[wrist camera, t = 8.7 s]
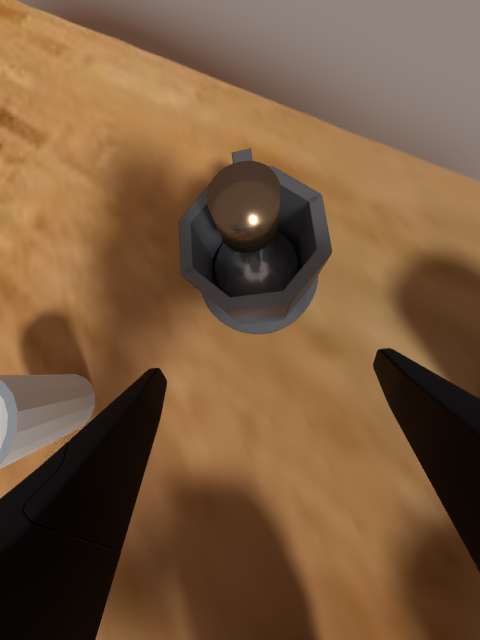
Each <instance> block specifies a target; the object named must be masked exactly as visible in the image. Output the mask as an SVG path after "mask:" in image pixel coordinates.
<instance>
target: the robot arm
mask: <svg viewBox="0 0 480 640" xmlns="http://www.w3.org/2000/svg"><path fill="white" fill-rule="evenodd" d="M373 367H374V370H375V373H376V375H377V378H378V380H379V383H380V385H381V388H382V390H383V392H384V395H385V397H386V400H387V402H388V404H389V406H390V408H391V410H392V412H393V414H394V416H395V418H396V420H397V422H398V423H399V425H400V427H401V429H402V431H403V433H404V434H405V436H406V438H407V440H408V442H409V444H410V445H411V447H412V449H413V451H414V453H415V455H416V456H417V458H418V460H419V462H420V464H421V466H422V467H423V469H424V471H425V473H426V475H427V477H428V478H429V480H430V482H431V484H432V486H433V488H434V489H435V491H436V493H437V495H438V497H439V499H440V500H441V502H442V504H443V506H444V508H445V510H446V512H447V513H448V515H449V517H450V519H451V521H452V523H453V524H454V526H455V528H456V530H457V532H458V534H459V535H460V537H461V539H462V541H463V543H464V545H465V546H466V548H467V550H468V552H469V554H470V556H471V557H472V559H473V561H474V563H475V564H476V567H477V569H478V571H479V573H480V399H479V398H477V397H475V396H474V395H472V394H470V393H468V392H467V391H465V390H463V389H461V388H460V387H458V386H456V385H454V384H453V383H451V382H449V381H447V380H446V379H444V378H442V377H440V376H439V375H437V374H435V373H433V372H432V371H430V370H428V369H426V368H425V367H423V366H421V365H419V364H418V363H416V362H414V361H412V360H411V359H409V358H407V357H405V356H404V355H402V354H400V353H398V352H397V351H395V350H393V349H391V348H386V349H379V350H378V351H377V353H376V357H375V360H374V363H373ZM166 386H167V380H166V378H165V376H164V375H163V373H162V371H161V370H160V369H159V368H151V369H149V370H148V371H146V372H145V373H144V374H143V375H142V376H141V377H140V378H139V379H137V380H136V381H135V382H134V383H133V384H132V385H131V386H130V387H129V388H127V389H126V390H125V391H124V392H123V393H122V394H121V395H120V396H118V397H117V398H116V399H115V400H114V401H113V402H112V403H111V404H110V405H108V406H107V407H106V408H105V409H104V410H103V411H102V412H101V413H99V414H98V415H97V416H96V417H95V418H94V419H93V420H92V421H91V422H89V423H88V424H87V425H86V426H85V427H84V428H83V429H82V430H80V431H79V432H78V433H77V434H76V435H75V436H74V437H73V438H72V439H70V441H69V442H67V443H66V444H65V445H64V446H63V447H61V448H60V449H59V450H58V451H57V452H56V453H55V454H53V455H52V456H51V457H50V458H49V459H48V460H47V461H45V462H44V463H43V464H42V465H41V466H40V467H38V468H37V469H36V470H35V471H34V472H32V473H31V474H30V475H29V476H28V477H26V478H25V479H24V480H23V481H22V482H20V483H19V484H18V485H17V486H15V487H14V488H13V489H12V490H11V491H9V492H8V493H7V494H6V495H4V496H3V497H2V498H1V499H0V640H95V639H96V635H97V632H98V628H99V625H100V622H101V618H102V615H103V612H104V608H105V605H106V601H107V598H108V595H109V591H110V588H111V585H112V581H113V578H114V574H115V571H116V568H117V564H118V561H119V557H120V554H121V550H122V547H123V543H124V540H125V537H126V533H127V530H128V526H129V523H130V520H131V516H132V513H133V510H134V506H135V503H136V499H137V496H138V493H139V489H140V486H141V482H142V479H143V476H144V472H145V469H146V466H147V462H148V459H149V455H150V452H151V449H152V445H153V442H154V438H155V435H156V432H157V428H158V425H159V421H160V417H161V413H162V408H163V402H164V397H165V392H166Z"/></svg>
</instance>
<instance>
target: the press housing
mask: <svg viewBox="0 0 480 640" xmlns="http://www.w3.org/2000/svg"><path fill="white" fill-rule="evenodd" d="M232 159H233V163H237V162H241V161H252V153H251V148H250V149H246V150H241V151H237V152H232ZM269 168H271V169H272V170H273V171H274V173H275V174H276V175H277V177H278V179H279V182H280V187H281V194H280V209H279V224H278V230H277V231H278V232H280V233H281V234H282V235H284V236H285V237H286V238H287V239H288V240H289V241H290V243H291V244H292V246H293V248H294V250H295V253H296V257H297V271H296V275H295V277H294V278H293V279H292V281H291V282H290V283H289V284H288V286H287V287H286V288H285V289H284V290H283V291H278V292H270V293H262V294H254V295H246V296H239V297H231V298H230V297H229V296H227V295H226V293H225V292H224V291H223V290H222V288H221V287H220V285H219V283H218V281H217V278H216V273H215V262H216V257H217V254H218V252H219V250H220V248H221V246H222V245H223V244H224V242H223V241H222V239H221V236H220V234H219V232H218V229H217V227H216V225H215V222H214V220H213V218H212V215H211V213H210V211H209V208H208V205H207V192H208V188H209V186H210V184H209V185H208V187H207V188H206V189H205V190H204V191H203V192H202V194H201V195H200V196H199V197H198V198H197V200H196V201H195V202H194V203H193V204H192V205H191V207H190V208H189V209H188V210H187V211H186V213H185V214H184V215H183V216H182V217H181V218H180V221H179V241H180V264H181V274H182V276H183V277H184V278H185V279H186V280H188V281H189V282H190V283H191V284H192V285H193V286H195V287H196V288H197V289H198V290H199V291H200V292H201V293H202V295H203V298H204V300H205V303H206V304H207V306H208V308H209V309H210V311H211V312H212V313H213V314H214V315H215V316H216V317H217V318H218V319H219V320H220V321H221V322H223V323H224V324H226V325H227V326H229V327H231V328H233V329H235V330H238V331H240V332H244V333H249V334H265V333H271V332H274V331H278V330H280V329H282V328H284V327H286V326H288V325H290V324H291V323H293V322H294V321H295V320H296V319H297V318H299V316H300V315H301V314H302V313H303V312H304V311H305V310H306V308H307V307H308V305H309V304H310V302H311V300H312V298H313V297H314V294H315V291H316V287H317V282H318V274H319V273H320V271H321V270H322V268H323V266H324V265H325V263H326V262H327V260H328V258H329V257H330V255H331V254H332V248H331V242H330V237H329V231H328V225H327V220H326V214H325V209H324V203H323V197H322V195H321V194H320V193H319V192H317V191H315V190H313V189H312V188H310V187H308V186H307V185H305V184H303V183H301V182H300V181H298V180H296V179H294V178H293V177H291V176H289V175H287V174H286V173H284V172H282V171H281V170H279V169H277V168H275V167H274V166H273V167H272V166H269Z"/></svg>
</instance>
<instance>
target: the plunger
mask: <svg viewBox="0 0 480 640" xmlns="http://www.w3.org/2000/svg"><path fill="white" fill-rule="evenodd" d="M280 194H281V187H280V182H279V179H278V177H277V175H276V174H275V173H274V171H273V170H272V169H271V168H269V167H268V166H266V165H264V164H262V163H259V162H255V161H241V162H237V163H233V164H231V165H229V166H227V167H225V168H224V169H222V170H221V171H220V172H219V173H218V174H217V175H216V176H215V177H214V179H213V180H212V182H211V183H210V186H209V188H208V192H207V205H208V208H209V211H210V213H211V215H212V218H213V220H214V222H215V225H216V227H217V229H218V232H219V234H220V236H221V239H222V241H223V242H224V244H223V245H222V246H221V248H220V250H219V252H218V254H217V257H216V262H215V273H216V278H217V281H218V283H219V285H220V287H221V288H222V290H223V291H224V292H225V293H226V295H227V296H229V297H230V298H231V297H239V296H246V295H254V294H262V293H270V292H278V291H283V290H284V289H285V288H286V287H287V286H288V284H289V283H290V282H291V281H292V279H293V278H294V277H295V275H296V271H297V257H296V253H295V250H294V248H293V246H292V244H291V243H290V241H289V240H288V239H287V238H286V237H285V236H284V235H282V234H281V233H280V232H278V231H277V230H278V224H279V209H280Z"/></svg>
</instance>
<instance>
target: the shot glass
mask: <svg viewBox="0 0 480 640" xmlns="http://www.w3.org/2000/svg"><path fill="white" fill-rule="evenodd" d="M94 407H95V392H94V389H93V387H92V384H91V383H90V382H89V381H88V380H87V379H86V378H85V377H83V376H80V375H78V374H48V375H0V469H1V468H3V467H5V466H7V465H9V464H11V463H13V462H15V461H17V460H19V459H21V458H23V457H25V456H27V455H29V454H31V453H33V452H34V451H36V450H38V449H40V448H42V447H44V446H46V445H48V444H50V443H52V442H54V441H56V440H58V439H60V438H62V437H64V436H66V435H68V434H70V433H72V432H73V431H75V430H77V429H79V428H81V427H82V426H84V425H85V424H86V423H87V421H88V420H89V419H90V417H91V416H92V413H93V410H94Z"/></svg>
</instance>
